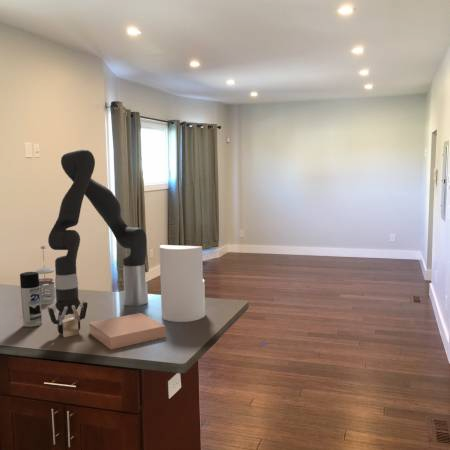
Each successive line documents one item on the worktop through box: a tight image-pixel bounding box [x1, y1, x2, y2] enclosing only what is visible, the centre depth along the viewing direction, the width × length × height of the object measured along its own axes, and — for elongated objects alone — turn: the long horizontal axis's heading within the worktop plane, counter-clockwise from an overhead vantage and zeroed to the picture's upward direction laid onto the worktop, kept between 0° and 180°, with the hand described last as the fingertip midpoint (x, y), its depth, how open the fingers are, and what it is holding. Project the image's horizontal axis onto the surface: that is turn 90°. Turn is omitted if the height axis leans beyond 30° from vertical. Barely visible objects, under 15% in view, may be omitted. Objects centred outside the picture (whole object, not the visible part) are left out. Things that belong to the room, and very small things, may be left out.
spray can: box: [19, 271, 43, 328], centre depth 190 cm, size 7×7×20 cm
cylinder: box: [159, 244, 206, 323], centre depth 199 cm, size 17×17×28 cm
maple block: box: [62, 316, 80, 338], centre depth 180 cm, size 5×5×5 cm
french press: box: [34, 245, 56, 305], centre depth 224 cm, size 10×12×25 cm
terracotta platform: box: [88, 312, 167, 350], centre depth 178 cm, size 20×20×4 cm
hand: (69, 332), depth 180 cm, fingers closed on maple block, 5 cm apart
